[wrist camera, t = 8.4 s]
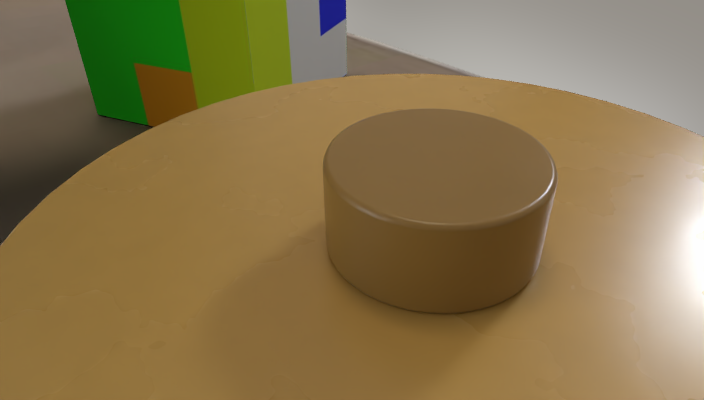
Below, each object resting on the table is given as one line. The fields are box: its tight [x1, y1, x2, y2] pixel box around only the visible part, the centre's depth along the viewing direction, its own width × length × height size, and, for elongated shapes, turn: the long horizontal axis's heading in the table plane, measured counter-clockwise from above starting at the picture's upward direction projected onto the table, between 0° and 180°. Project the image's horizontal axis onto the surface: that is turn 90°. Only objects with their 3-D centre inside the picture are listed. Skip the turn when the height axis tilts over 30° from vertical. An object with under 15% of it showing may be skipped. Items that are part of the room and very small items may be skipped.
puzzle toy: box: [65, 0, 347, 127], centre depth 30 cm, size 10×10×10 cm
